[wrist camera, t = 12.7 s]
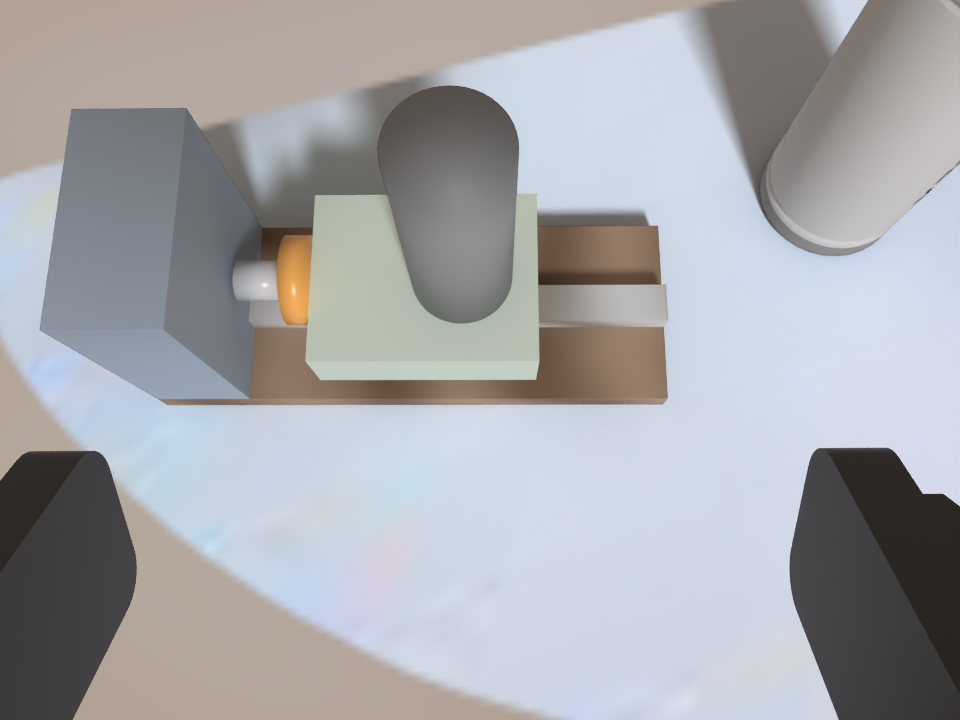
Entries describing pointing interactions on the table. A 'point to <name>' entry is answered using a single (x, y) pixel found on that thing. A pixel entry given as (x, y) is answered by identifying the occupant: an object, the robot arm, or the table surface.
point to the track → (562, 334)
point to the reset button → (279, 279)
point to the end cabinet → (151, 255)
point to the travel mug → (870, 130)
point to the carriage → (430, 253)
